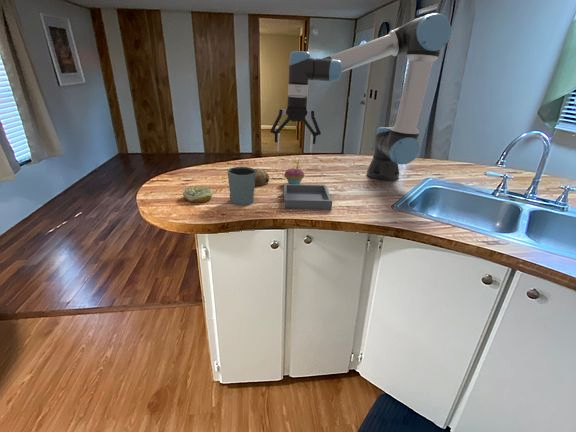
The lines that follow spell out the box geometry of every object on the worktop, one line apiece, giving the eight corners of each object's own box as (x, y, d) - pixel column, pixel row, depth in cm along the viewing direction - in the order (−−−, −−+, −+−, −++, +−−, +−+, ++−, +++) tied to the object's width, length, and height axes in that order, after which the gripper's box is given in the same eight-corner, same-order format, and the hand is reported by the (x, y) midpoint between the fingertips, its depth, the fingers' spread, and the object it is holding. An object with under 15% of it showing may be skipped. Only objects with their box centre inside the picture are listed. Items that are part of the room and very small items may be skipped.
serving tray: (325, 193, 126) (325, 185, 125) (331, 210, 111) (332, 201, 109) (283, 192, 126) (284, 184, 124) (284, 209, 110) (284, 200, 109)
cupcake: (307, 184, 136) (308, 157, 130) (297, 189, 129) (298, 161, 124) (290, 180, 140) (291, 154, 134) (280, 185, 133) (280, 157, 128)
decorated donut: (189, 206, 110) (188, 196, 109) (180, 196, 118) (179, 187, 116) (216, 200, 116) (216, 191, 114) (206, 191, 124) (205, 183, 122)
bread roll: (261, 194, 132) (268, 179, 129) (240, 183, 132) (247, 167, 128) (267, 187, 141) (274, 172, 137) (247, 176, 141) (254, 161, 137)
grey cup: (232, 195, 120) (230, 165, 115) (257, 196, 120) (257, 167, 115) (226, 206, 111) (224, 174, 106) (254, 207, 111) (253, 175, 106)
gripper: (264, 95, 115) (264, 151, 124) (331, 98, 116) (325, 154, 125) (265, 94, 122) (264, 147, 131) (328, 97, 123) (323, 150, 132)
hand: (294, 151), depth 128 cm, fingers open, 13 cm apart
